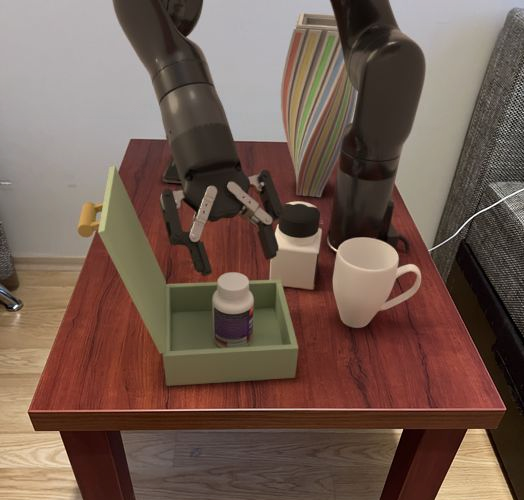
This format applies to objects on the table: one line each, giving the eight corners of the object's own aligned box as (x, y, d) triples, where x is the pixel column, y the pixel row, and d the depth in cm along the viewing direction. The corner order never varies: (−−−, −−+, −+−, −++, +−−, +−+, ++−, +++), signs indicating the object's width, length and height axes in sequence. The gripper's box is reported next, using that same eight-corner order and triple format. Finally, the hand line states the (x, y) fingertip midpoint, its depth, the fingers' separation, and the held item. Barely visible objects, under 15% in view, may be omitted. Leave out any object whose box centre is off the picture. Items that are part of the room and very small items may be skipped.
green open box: (278, 308, 81) (280, 279, 78) (295, 377, 71) (298, 348, 67) (166, 313, 79) (163, 284, 76) (166, 386, 69) (162, 355, 65)
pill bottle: (257, 347, 73) (260, 290, 67) (219, 355, 72) (217, 297, 65) (245, 322, 77) (247, 265, 71) (209, 329, 76) (206, 272, 69)
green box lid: (115, 165, 63) (80, 175, 64) (104, 230, 53) (63, 241, 53) (165, 281, 75) (136, 288, 76) (165, 352, 65) (131, 361, 65)
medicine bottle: (313, 291, 85) (322, 222, 76) (268, 285, 85) (272, 217, 77) (317, 265, 90) (326, 199, 82) (275, 260, 90) (279, 193, 82)
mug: (326, 334, 77) (337, 267, 69) (327, 299, 83) (337, 234, 76) (410, 342, 77) (431, 276, 69) (405, 306, 83) (423, 241, 75)
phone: (211, 149, 119) (200, 180, 108) (211, 154, 120) (200, 185, 109) (176, 147, 119) (161, 177, 108) (176, 152, 120) (161, 182, 109)
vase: (342, 178, 114) (366, 14, 94) (342, 209, 104) (369, 33, 84) (278, 172, 115) (288, 8, 94) (272, 203, 105) (282, 27, 84)
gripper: (146, 130, 58) (191, 274, 59) (263, 112, 63) (304, 244, 64) (137, 158, 65) (178, 287, 66) (243, 140, 70) (280, 259, 71)
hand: (240, 266), depth 65 cm, fingers open, 8 cm apart
